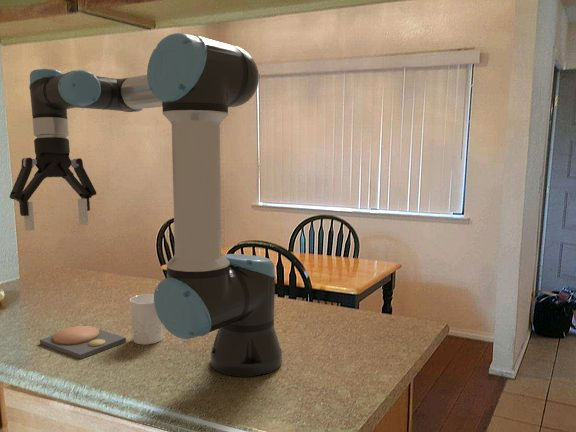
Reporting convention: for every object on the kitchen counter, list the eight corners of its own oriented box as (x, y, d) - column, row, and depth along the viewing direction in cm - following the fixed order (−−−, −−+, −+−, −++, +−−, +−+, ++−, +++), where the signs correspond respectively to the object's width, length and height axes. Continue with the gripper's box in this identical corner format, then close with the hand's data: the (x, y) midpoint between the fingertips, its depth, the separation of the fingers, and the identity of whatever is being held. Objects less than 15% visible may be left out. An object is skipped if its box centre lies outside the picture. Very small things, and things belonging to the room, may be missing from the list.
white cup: (166, 333, 127) (165, 293, 125) (163, 345, 119) (162, 303, 117) (133, 334, 125) (132, 294, 124) (128, 346, 118) (127, 304, 116)
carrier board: (125, 341, 120) (125, 334, 120) (80, 359, 110) (80, 351, 110) (85, 329, 128) (85, 322, 128) (39, 343, 118) (39, 336, 118)
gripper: (89, 141, 134) (95, 222, 135) (-12, 136, 114) (-5, 232, 115) (107, 138, 129) (112, 222, 131) (4, 133, 109) (12, 233, 110)
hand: (58, 227), depth 123 cm, fingers open, 13 cm apart
